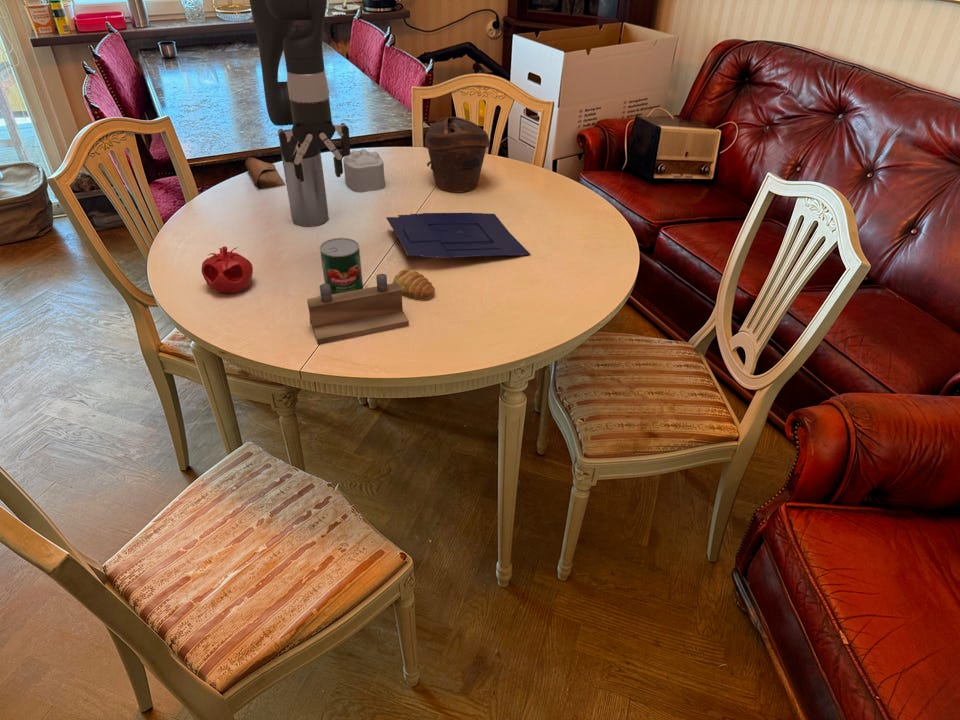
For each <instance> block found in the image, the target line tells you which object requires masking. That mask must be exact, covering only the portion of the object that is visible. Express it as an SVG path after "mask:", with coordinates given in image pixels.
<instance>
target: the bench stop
mask: <svg viewBox="0 0 960 720" xmlns="http://www.w3.org/2000/svg"><path fill="white" fill-rule="evenodd" d="M375 277H376V286H371V287H370V286H369V287H366V288H363V289H359V290H354V291H348V292H343V293H337V294H332V295H331V287H330V284H327V283H325V282H324V283H321V284H320V285H319V292H320V293H319V294H320V296H315V297H311V298H307V299H306V302H307V309H308V313H309V317H308V318H309V323H310V326H311V328H312V331H313V334H314V337H315V339H316V342H317V344H318V345H323V344H327V343H332V342H338V341H341V340H346V339H350V338H356V337H357V338H358V337H360V336H366V335H371V334H375V333H381V332H385V331H390V330H395V329H399V328H400V329H401V328H404V327H409V326H410V321H409V319H408V316H407V315H406V314H405V312H404V310H403V309H404V308H403V306H404V305H403V295H402V290H401V288H400V286H399V285H398V283H393V282H391V283H388V279H387V278H388V277H387V273H378V274H377V275H375Z"/></svg>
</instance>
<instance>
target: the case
mask: <svg viewBox="0 0 960 720" xmlns="http://www.w3.org/2000/svg"><path fill="white" fill-rule="evenodd" d="M490 144H491V143H490V139H489V134H488V133H487V131H485V130H484V129H482V127H481V126H479V125H478V124H476V123H474V122H473V121H470V120H468V119H465V118H463V117H459V116H446V117H442V118H440V119H437V120H436V121H435V122H433V123H431V125H430V126H429V128H428V129H427V132H426V134H425V138H424V146H425V149H427V150H428V151H427V152H428V155H429V161H427V163H426V166H427V167H428V168H429V166H430V170H431V171H432V174H433V180H434V184H435V185H436V186H437V187H438V189H440V190H443V191H446V192H451V193H461V192H468V191H472V190H474V189H475V188H476V187H478V185H479V180H480V176H481V172H482V168H483V165H484V159H485V155H486V151H487V148H488V149H490V146H491V145H490Z"/></svg>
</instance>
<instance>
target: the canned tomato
mask: <svg viewBox="0 0 960 720" xmlns="http://www.w3.org/2000/svg"><path fill="white" fill-rule="evenodd" d="M319 253H320V259H321V265H322V272H323V280H324V283H327V284H330V287H331V295H332V294H337V293H343V292H348V291H354V290H359V289H364V283H363V274H362V273H363V272H362V263H361V253H360V245H359V243H358V241H357V240H354V239H352V238H349V237H334V238H330V239H327V240H325V241H323V242H322V243H321V244H320V246H319Z"/></svg>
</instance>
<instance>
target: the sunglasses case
mask: <svg viewBox="0 0 960 720" xmlns="http://www.w3.org/2000/svg"><path fill="white" fill-rule="evenodd" d="M244 165H245V168H246V170H247V172H248V174H249V175H250V177H251V179H252V181H253V183H254V186H255V187H256V188H257V189H258V190H259V191H260V190H267V189H273V188H280V187H286V182H284V179H282V177H281V175H280V173H279V172H278V170H277V168H276V166H275V164H273V163H270V162H265V161H263V160H260V159H257V158H255V157H247V158H246V159H245V162H244Z"/></svg>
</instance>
